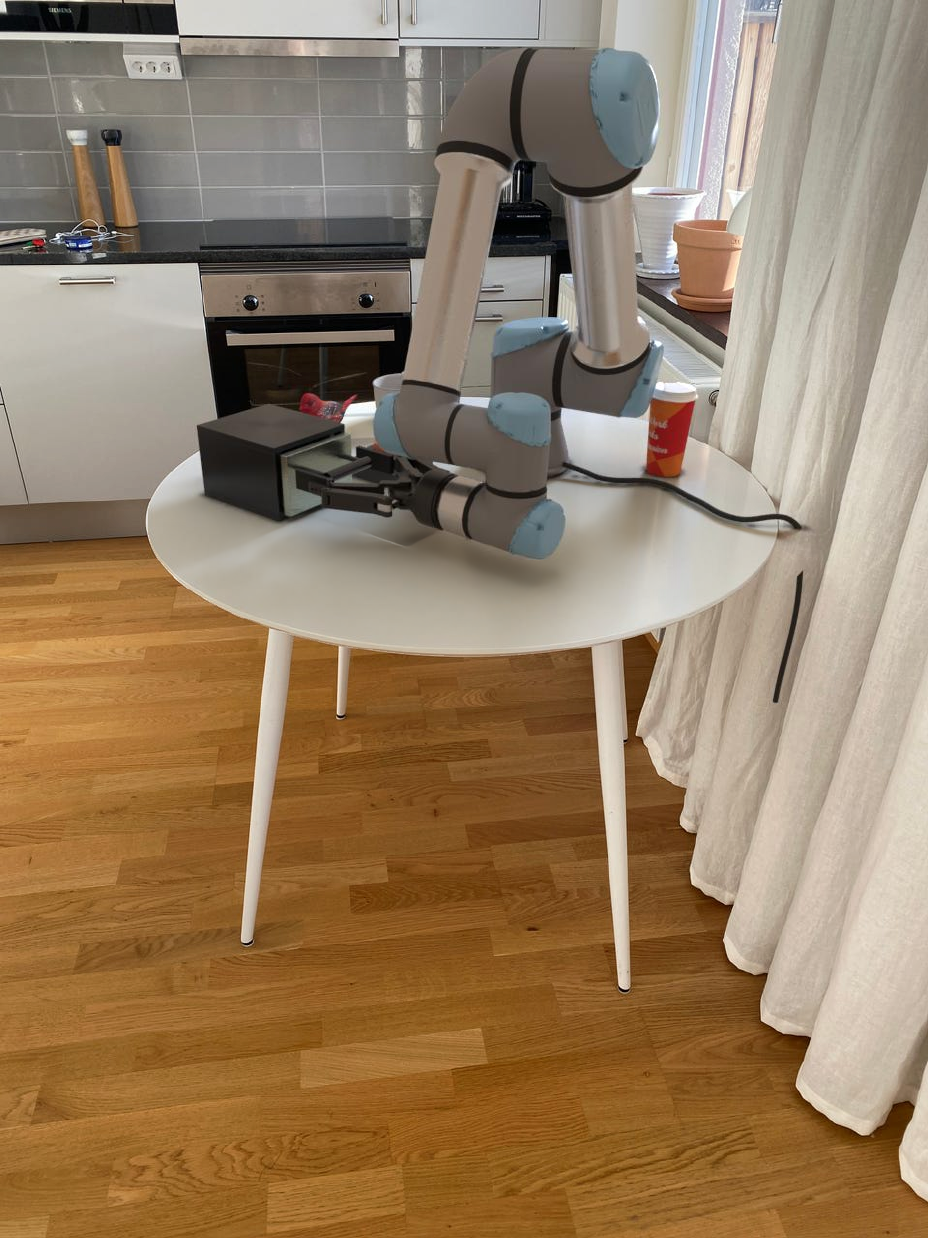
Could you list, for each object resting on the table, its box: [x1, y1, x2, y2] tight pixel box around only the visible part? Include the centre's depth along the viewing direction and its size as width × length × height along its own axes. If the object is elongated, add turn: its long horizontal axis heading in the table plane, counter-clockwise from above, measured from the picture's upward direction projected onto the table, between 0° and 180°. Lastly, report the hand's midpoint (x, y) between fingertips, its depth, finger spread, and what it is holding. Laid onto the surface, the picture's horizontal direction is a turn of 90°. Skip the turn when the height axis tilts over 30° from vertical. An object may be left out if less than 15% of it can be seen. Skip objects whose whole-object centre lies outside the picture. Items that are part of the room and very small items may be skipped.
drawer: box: [279, 431, 372, 518], centre depth 136 cm, size 21×13×9 cm, turn 54°
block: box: [352, 443, 434, 484], centre depth 149 cm, size 11×9×4 cm
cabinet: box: [196, 403, 346, 522], centre depth 139 cm, size 16×14×11 cm
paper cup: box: [645, 381, 699, 478], centre depth 151 cm, size 8×8×14 cm
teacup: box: [372, 371, 404, 410], centre depth 174 cm, size 14×11×8 cm
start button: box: [373, 439, 395, 455], centre depth 148 cm, size 4×4×2 cm
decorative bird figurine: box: [298, 392, 358, 423], centre depth 161 cm, size 3×18×10 cm, turn 154°
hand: (328, 466), depth 133 cm, fingers open, 12 cm apart
